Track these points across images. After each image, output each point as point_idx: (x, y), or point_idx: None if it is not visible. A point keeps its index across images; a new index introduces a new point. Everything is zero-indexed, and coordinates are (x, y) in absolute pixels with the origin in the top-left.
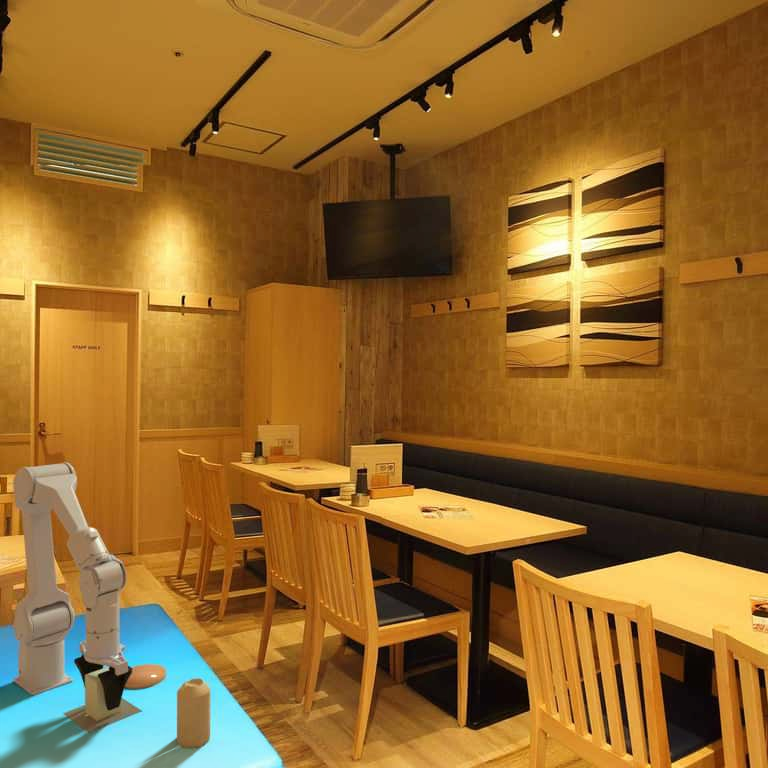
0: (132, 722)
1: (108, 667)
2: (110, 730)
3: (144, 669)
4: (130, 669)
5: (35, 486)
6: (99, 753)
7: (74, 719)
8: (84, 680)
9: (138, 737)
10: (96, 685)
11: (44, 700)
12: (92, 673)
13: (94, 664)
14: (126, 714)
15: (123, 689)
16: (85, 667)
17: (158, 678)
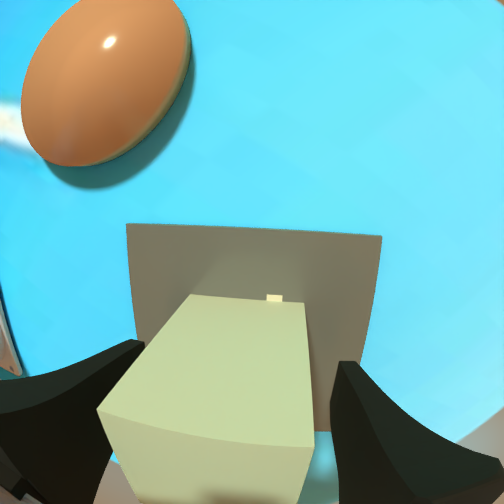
0: (412, 310)
1: (109, 417)
2: (384, 384)
3: (63, 50)
4: (500, 489)
5: None
6: (440, 434)
7: None
8: None
9: (488, 341)
10: None
11: None
12: (147, 492)
13: (63, 458)
14: (350, 300)
15: (400, 409)
16: (84, 490)
17: (177, 23)
